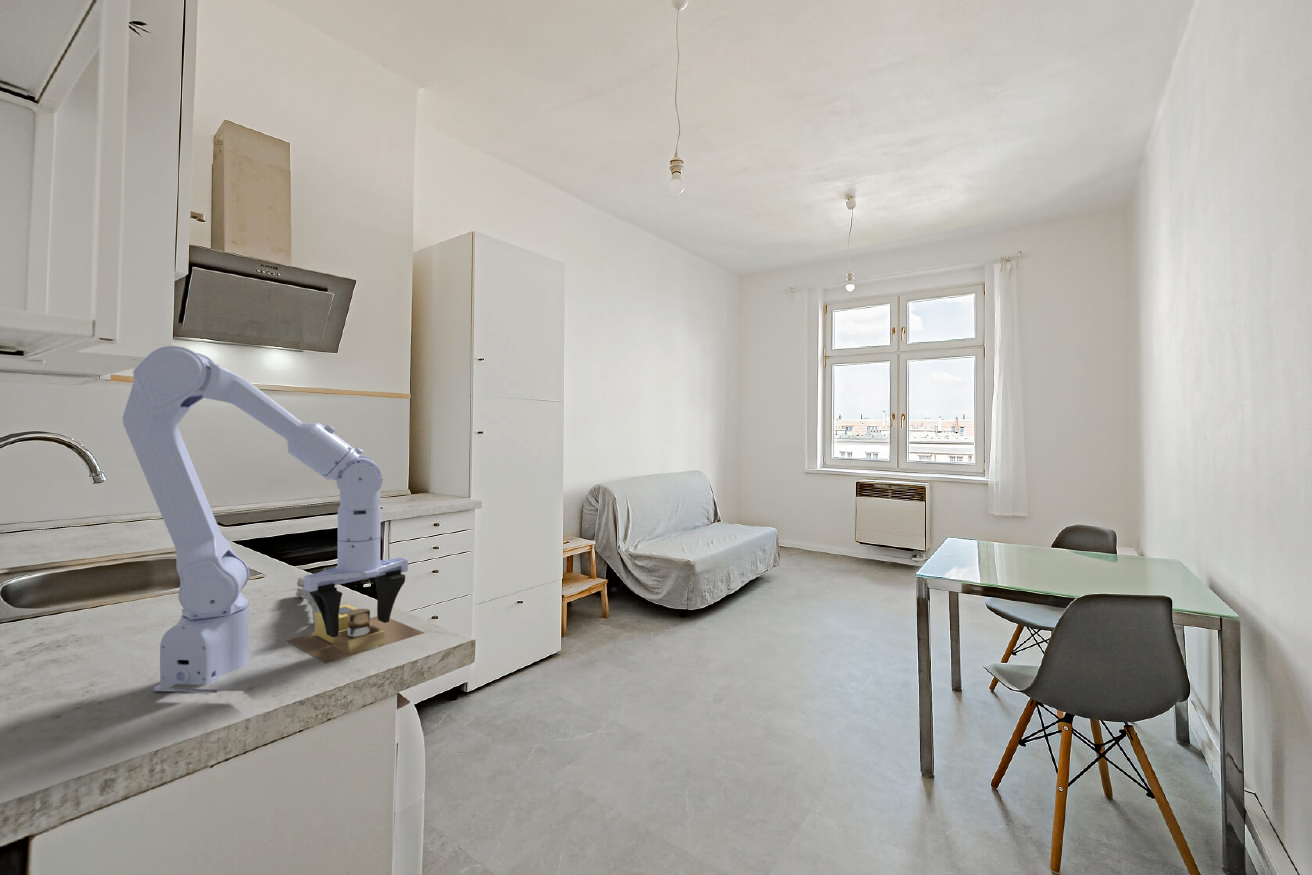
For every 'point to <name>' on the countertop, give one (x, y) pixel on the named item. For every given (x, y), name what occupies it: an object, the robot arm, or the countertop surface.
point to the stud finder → (343, 611)
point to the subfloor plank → (354, 640)
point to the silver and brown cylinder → (358, 623)
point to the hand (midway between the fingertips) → (358, 627)
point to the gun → (307, 597)
